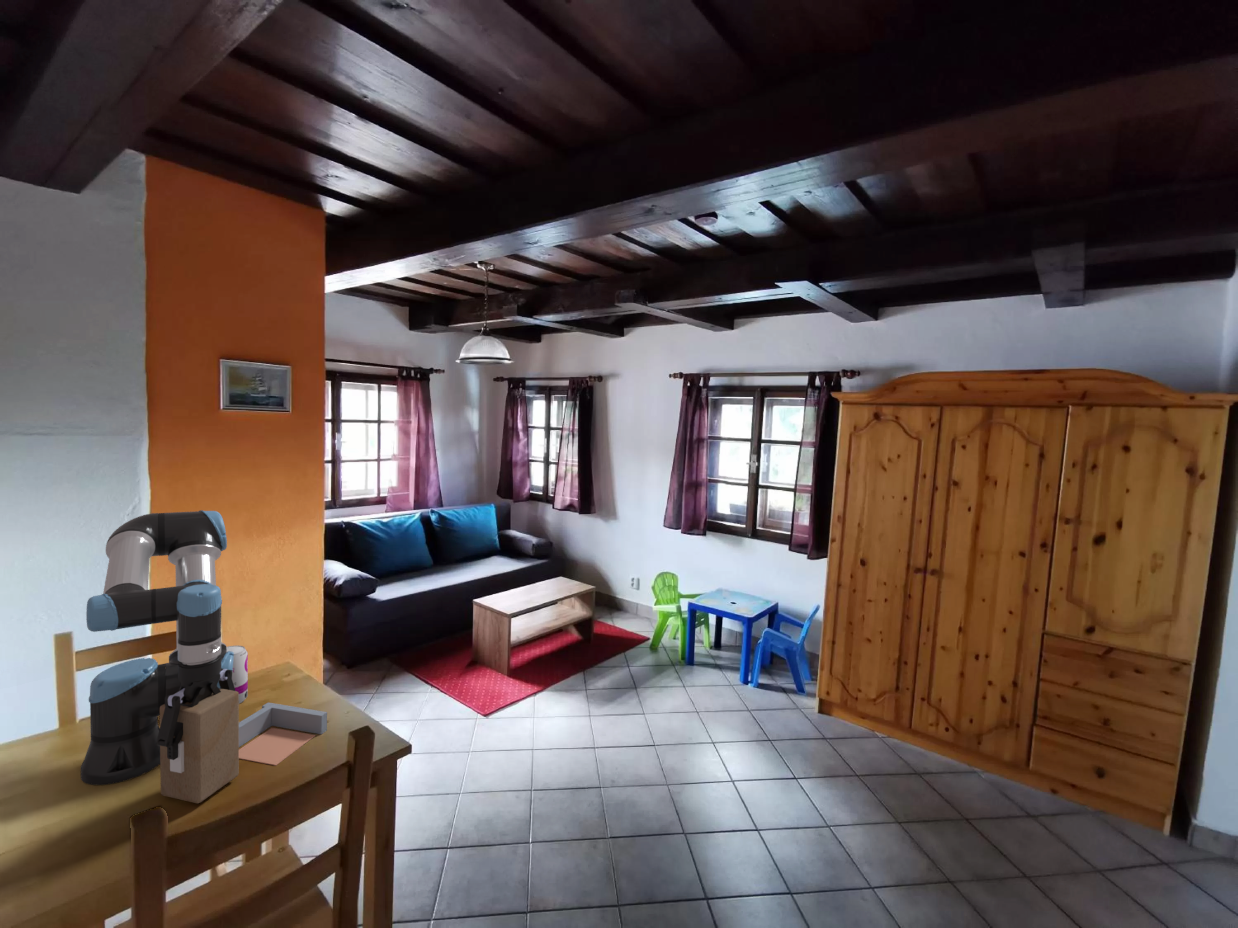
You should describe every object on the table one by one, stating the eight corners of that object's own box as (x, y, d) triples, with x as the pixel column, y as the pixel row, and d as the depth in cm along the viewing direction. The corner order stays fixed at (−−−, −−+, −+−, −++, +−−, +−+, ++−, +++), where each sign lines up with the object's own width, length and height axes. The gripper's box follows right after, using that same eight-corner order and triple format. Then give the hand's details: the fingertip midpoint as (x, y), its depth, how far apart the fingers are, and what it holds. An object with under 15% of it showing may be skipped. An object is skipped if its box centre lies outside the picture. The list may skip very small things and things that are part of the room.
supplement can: (245, 691, 166) (245, 642, 164) (249, 703, 159) (249, 652, 158) (211, 699, 160) (211, 648, 159) (214, 711, 154) (213, 658, 153)
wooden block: (198, 804, 117) (197, 713, 115) (159, 795, 119) (158, 705, 117) (239, 775, 127) (239, 690, 125) (203, 767, 129) (202, 684, 127)
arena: (207, 758, 134) (207, 738, 133) (267, 720, 151) (268, 702, 151) (272, 771, 130) (273, 750, 130) (326, 730, 148) (327, 711, 148)
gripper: (162, 684, 109) (164, 792, 111) (258, 640, 131) (257, 730, 133) (131, 679, 110) (132, 785, 112) (230, 635, 132) (230, 725, 134)
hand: (200, 755), depth 122 cm, fingers closed on wooden block, 10 cm apart
